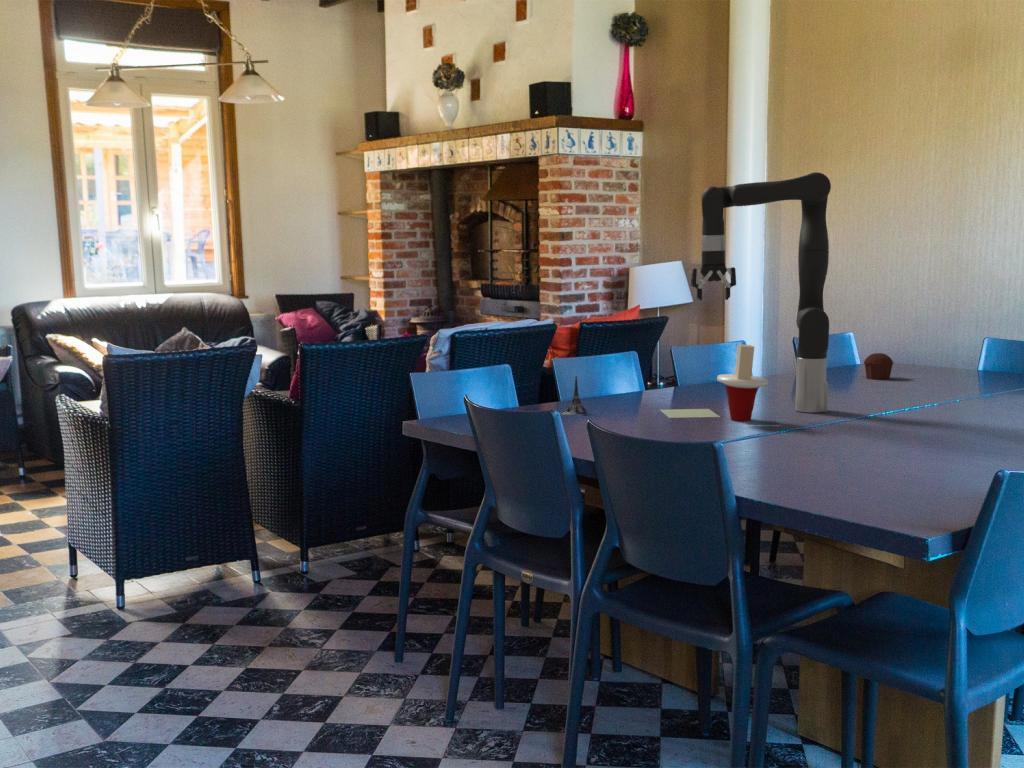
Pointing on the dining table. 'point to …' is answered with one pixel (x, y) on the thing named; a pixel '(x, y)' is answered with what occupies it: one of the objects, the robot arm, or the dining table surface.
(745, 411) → the plastic cup
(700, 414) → the mat
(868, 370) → the muffin
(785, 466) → the dining table surface
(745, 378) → the lid
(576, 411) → the eiffel tower figurine
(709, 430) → the dining table surface
